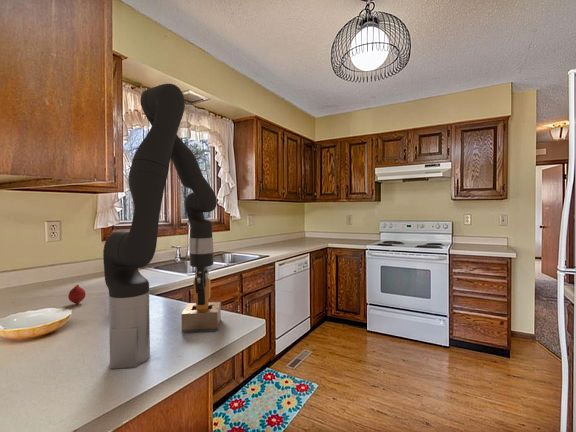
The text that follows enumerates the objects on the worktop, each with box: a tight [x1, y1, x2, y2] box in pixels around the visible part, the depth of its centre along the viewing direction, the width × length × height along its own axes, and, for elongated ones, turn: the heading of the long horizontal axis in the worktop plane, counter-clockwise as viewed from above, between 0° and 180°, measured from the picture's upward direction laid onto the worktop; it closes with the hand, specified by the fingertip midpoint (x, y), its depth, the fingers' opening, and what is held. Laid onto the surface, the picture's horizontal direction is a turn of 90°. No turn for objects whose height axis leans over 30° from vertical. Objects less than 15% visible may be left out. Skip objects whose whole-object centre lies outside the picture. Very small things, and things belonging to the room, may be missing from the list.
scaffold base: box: [181, 301, 222, 334], centre depth 102 cm, size 11×11×6 cm
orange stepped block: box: [193, 277, 212, 310], centre depth 102 cm, size 3×5×10 cm, turn 97°
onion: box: [67, 284, 87, 305], centre depth 126 cm, size 6×6×8 cm
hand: (202, 302), depth 102 cm, fingers closed on orange stepped block, 3 cm apart
